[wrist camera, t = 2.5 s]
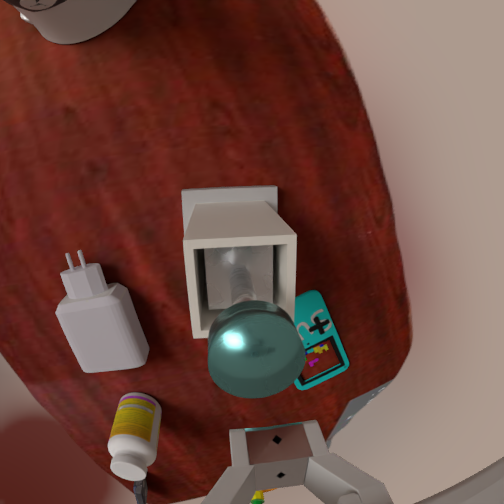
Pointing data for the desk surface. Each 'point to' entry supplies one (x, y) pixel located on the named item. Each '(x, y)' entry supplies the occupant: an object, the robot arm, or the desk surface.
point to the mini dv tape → (140, 491)
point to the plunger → (249, 324)
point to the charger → (100, 320)
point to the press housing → (234, 242)
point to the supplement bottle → (134, 436)
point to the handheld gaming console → (317, 335)
